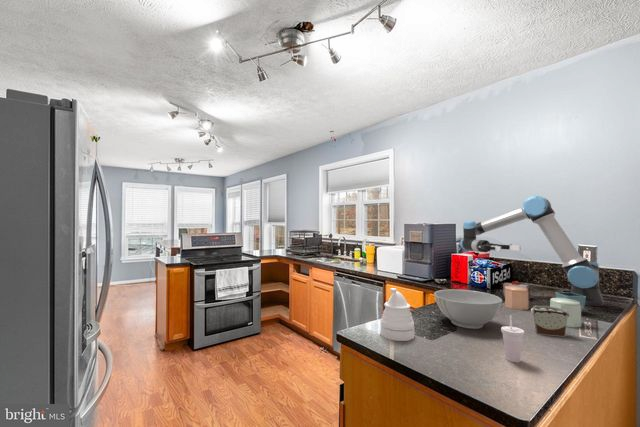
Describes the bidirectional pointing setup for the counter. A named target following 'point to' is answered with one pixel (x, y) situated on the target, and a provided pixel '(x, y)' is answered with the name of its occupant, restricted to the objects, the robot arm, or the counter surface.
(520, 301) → the octagonal lidded jar
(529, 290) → the food item
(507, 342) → the smoothie
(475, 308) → the decorative bowl
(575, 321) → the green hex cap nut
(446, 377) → the counter surface
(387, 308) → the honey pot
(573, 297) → the flower pot
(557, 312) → the food container
